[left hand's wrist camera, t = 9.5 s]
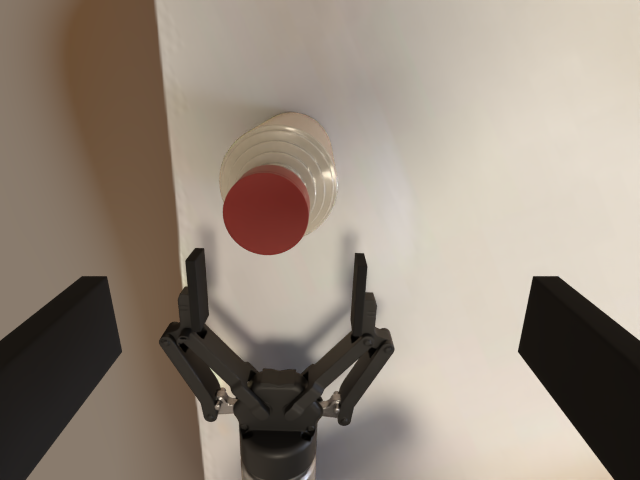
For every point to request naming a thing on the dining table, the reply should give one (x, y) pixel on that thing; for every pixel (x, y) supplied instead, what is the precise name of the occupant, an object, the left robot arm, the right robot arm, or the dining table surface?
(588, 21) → the dining table surface
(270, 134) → the bottle
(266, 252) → the cap
